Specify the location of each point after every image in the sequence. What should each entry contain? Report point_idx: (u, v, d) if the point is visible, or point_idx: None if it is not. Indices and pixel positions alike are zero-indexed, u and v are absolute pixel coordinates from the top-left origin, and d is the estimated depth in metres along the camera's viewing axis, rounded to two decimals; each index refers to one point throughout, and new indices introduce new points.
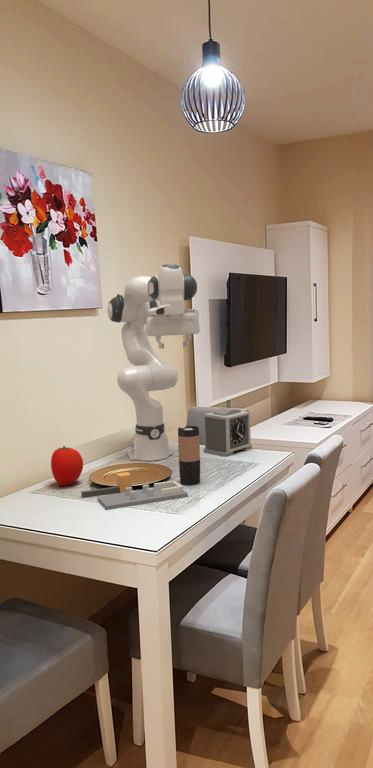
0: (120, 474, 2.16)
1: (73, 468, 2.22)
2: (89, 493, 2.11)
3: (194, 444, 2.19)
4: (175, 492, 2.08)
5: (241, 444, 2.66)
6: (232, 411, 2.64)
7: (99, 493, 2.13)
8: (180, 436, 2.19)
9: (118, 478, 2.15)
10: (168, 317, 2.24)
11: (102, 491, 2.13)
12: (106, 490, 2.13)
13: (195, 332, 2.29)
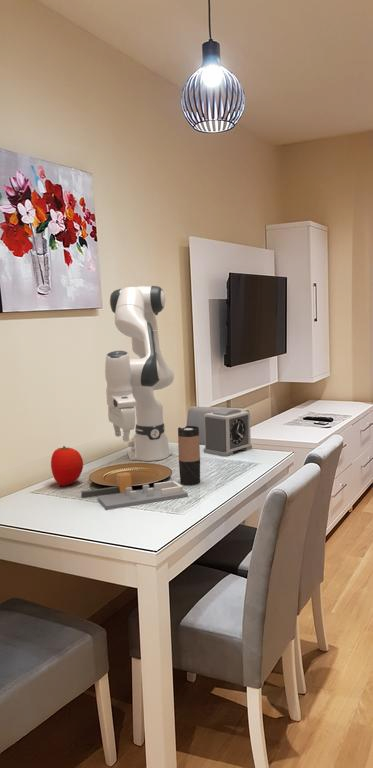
0: (120, 474, 2.16)
1: (73, 468, 2.22)
2: (89, 493, 2.11)
3: (194, 444, 2.19)
4: (175, 492, 2.08)
5: (241, 444, 2.66)
6: (232, 411, 2.64)
7: (99, 493, 2.13)
8: (180, 436, 2.19)
9: (118, 478, 2.15)
10: None
11: (102, 491, 2.13)
12: (106, 490, 2.13)
13: None
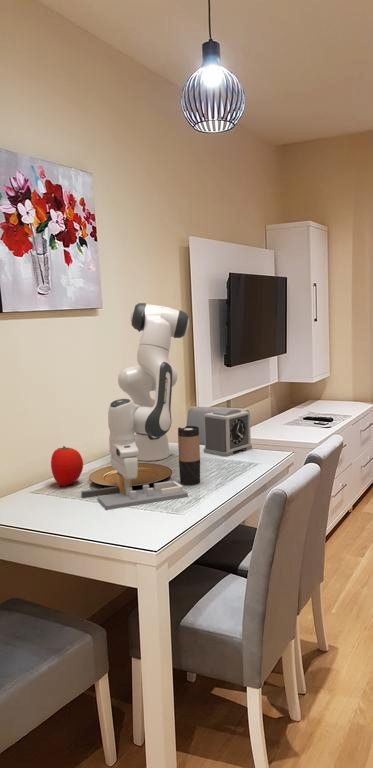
0: (120, 474, 2.16)
1: (73, 468, 2.22)
2: (89, 493, 2.11)
3: (194, 444, 2.19)
4: (175, 492, 2.08)
5: (241, 444, 2.66)
6: (232, 411, 2.64)
7: (99, 493, 2.13)
8: (180, 436, 2.19)
9: (118, 478, 2.15)
10: None
11: (102, 491, 2.13)
12: (106, 490, 2.13)
13: None
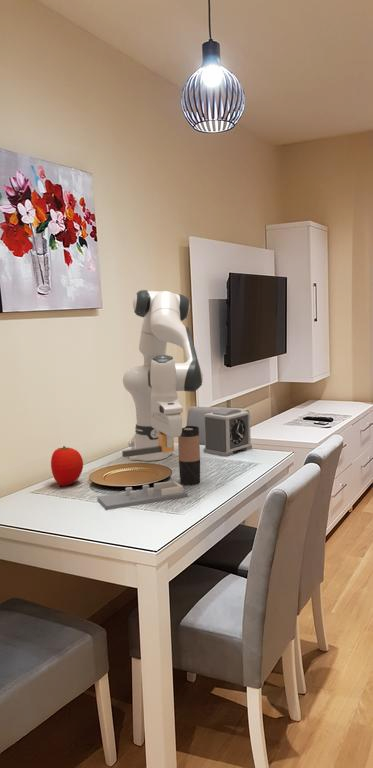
0: (162, 433, 2.08)
1: (73, 468, 2.22)
2: (131, 452, 2.04)
3: (194, 445, 2.19)
4: (175, 492, 2.08)
5: (241, 444, 2.66)
6: (232, 411, 2.64)
7: (141, 452, 2.05)
8: (180, 436, 2.19)
9: (160, 437, 2.08)
10: None
11: (144, 450, 2.05)
12: (148, 449, 2.06)
13: None
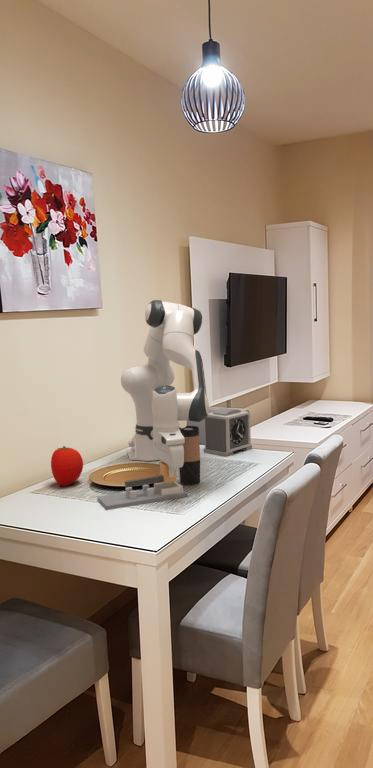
0: (164, 463, 2.09)
1: (73, 468, 2.22)
2: (133, 482, 2.05)
3: (194, 444, 2.19)
4: (175, 492, 2.08)
5: (241, 444, 2.66)
6: (232, 411, 2.64)
7: (143, 482, 2.06)
8: None
9: (162, 467, 2.09)
10: None
11: (146, 480, 2.07)
12: (150, 479, 2.07)
13: None
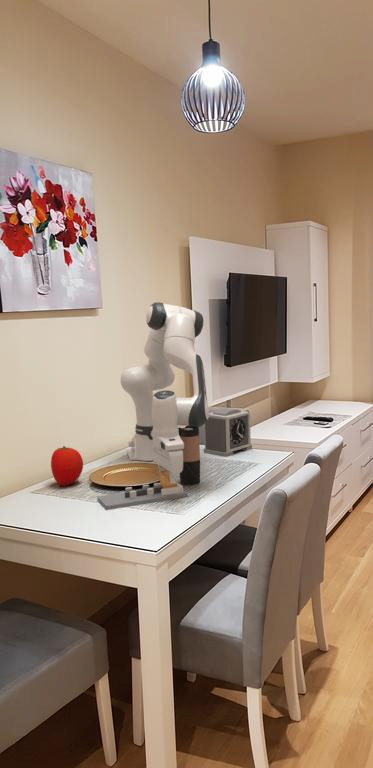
0: (164, 473, 2.10)
1: (73, 468, 2.22)
2: None
3: (194, 444, 2.19)
4: (175, 492, 2.08)
5: (241, 444, 2.66)
6: (232, 411, 2.64)
7: (143, 493, 2.07)
8: (180, 436, 2.19)
9: (162, 478, 2.10)
10: None
11: (146, 491, 2.07)
12: None
13: None
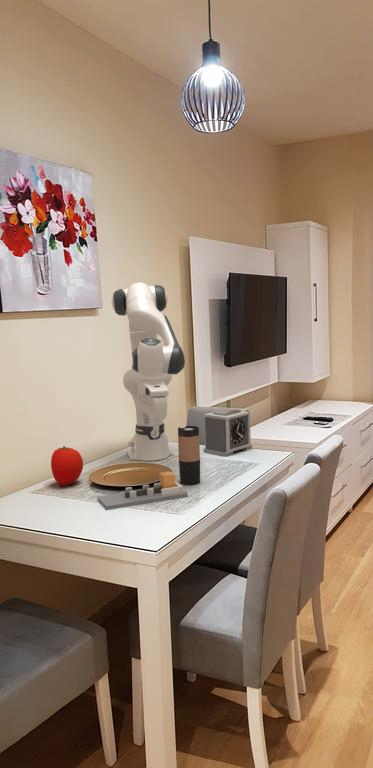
0: (164, 473, 2.10)
1: (73, 468, 2.22)
2: None
3: (194, 444, 2.19)
4: (175, 492, 2.08)
5: (241, 444, 2.66)
6: (232, 411, 2.64)
7: (143, 493, 2.07)
8: (180, 436, 2.19)
9: (162, 478, 2.10)
10: None
11: (146, 491, 2.07)
12: None
13: None
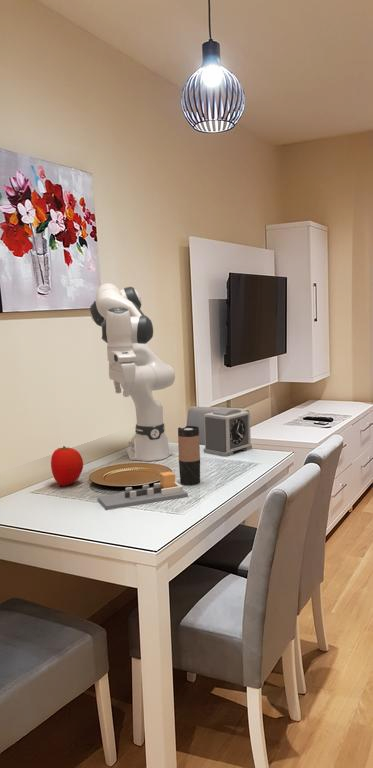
0: (164, 473, 2.10)
1: (73, 468, 2.22)
2: None
3: (194, 444, 2.19)
4: (175, 492, 2.08)
5: (241, 444, 2.66)
6: (232, 411, 2.64)
7: (143, 493, 2.07)
8: (180, 436, 2.19)
9: (162, 478, 2.10)
10: None
11: (146, 491, 2.07)
12: None
13: None
